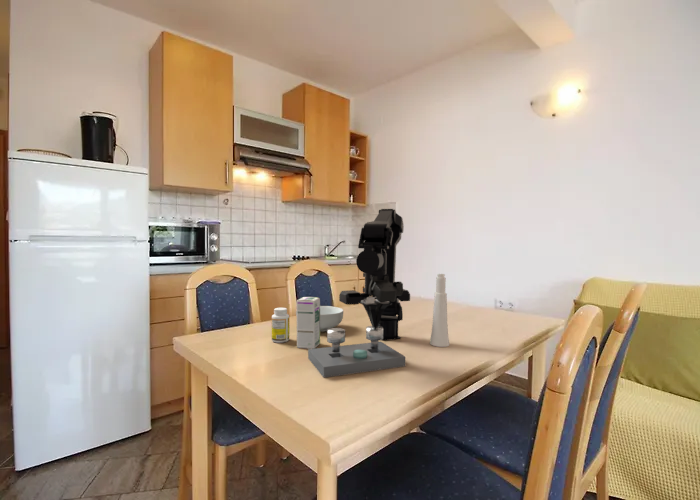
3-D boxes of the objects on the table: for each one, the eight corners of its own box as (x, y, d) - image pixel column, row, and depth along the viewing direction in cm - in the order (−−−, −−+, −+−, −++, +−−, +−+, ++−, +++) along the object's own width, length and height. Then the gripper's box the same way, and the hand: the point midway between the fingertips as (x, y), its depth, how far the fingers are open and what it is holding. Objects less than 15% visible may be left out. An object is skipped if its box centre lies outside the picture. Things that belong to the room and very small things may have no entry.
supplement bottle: (281, 337, 115) (282, 306, 115) (292, 340, 112) (293, 308, 112) (267, 340, 111) (268, 308, 111) (278, 344, 108) (279, 311, 107)
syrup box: (314, 349, 103) (315, 300, 103) (295, 347, 105) (296, 299, 104) (320, 343, 109) (320, 297, 108) (302, 342, 110) (302, 296, 110)
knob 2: (378, 344, 98) (378, 325, 98) (385, 349, 94) (386, 329, 93) (363, 346, 96) (363, 326, 96) (370, 351, 92) (370, 330, 92)
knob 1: (341, 347, 94) (341, 327, 94) (347, 353, 90) (347, 331, 89) (324, 349, 92) (325, 328, 92) (330, 355, 88) (330, 333, 88)
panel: (380, 349, 104) (380, 341, 103) (405, 366, 91) (405, 356, 90) (308, 358, 95) (308, 349, 95) (323, 377, 82) (323, 367, 82)
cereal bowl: (348, 325, 133) (348, 306, 133) (336, 337, 117) (336, 315, 117) (305, 322, 137) (305, 304, 137) (288, 333, 121) (288, 312, 120)
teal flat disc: (363, 353, 92) (363, 349, 92) (369, 357, 89) (369, 353, 89) (350, 355, 91) (351, 350, 91) (356, 359, 88) (356, 354, 88)
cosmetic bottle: (453, 345, 109) (455, 274, 108) (439, 348, 106) (441, 275, 105) (439, 340, 114) (441, 272, 113) (425, 343, 111) (427, 273, 110)
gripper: (354, 273, 83) (354, 339, 84) (422, 272, 90) (420, 332, 91) (339, 269, 94) (338, 327, 94) (400, 268, 101) (399, 322, 101)
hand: (374, 327), depth 95 cm, fingers closed, pressing on knob 2
